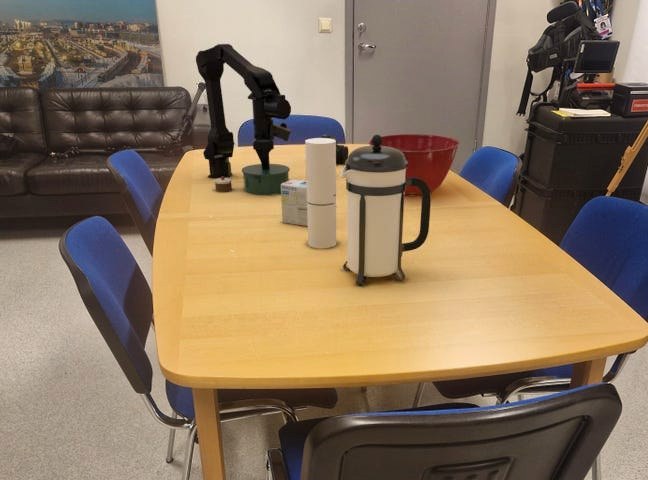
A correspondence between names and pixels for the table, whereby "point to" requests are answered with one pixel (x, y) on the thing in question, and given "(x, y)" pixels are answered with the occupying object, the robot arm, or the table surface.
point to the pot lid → (265, 169)
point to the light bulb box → (294, 202)
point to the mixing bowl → (424, 157)
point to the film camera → (339, 151)
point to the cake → (223, 184)
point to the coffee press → (379, 210)
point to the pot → (264, 184)
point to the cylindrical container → (321, 192)
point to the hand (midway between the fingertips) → (265, 167)
